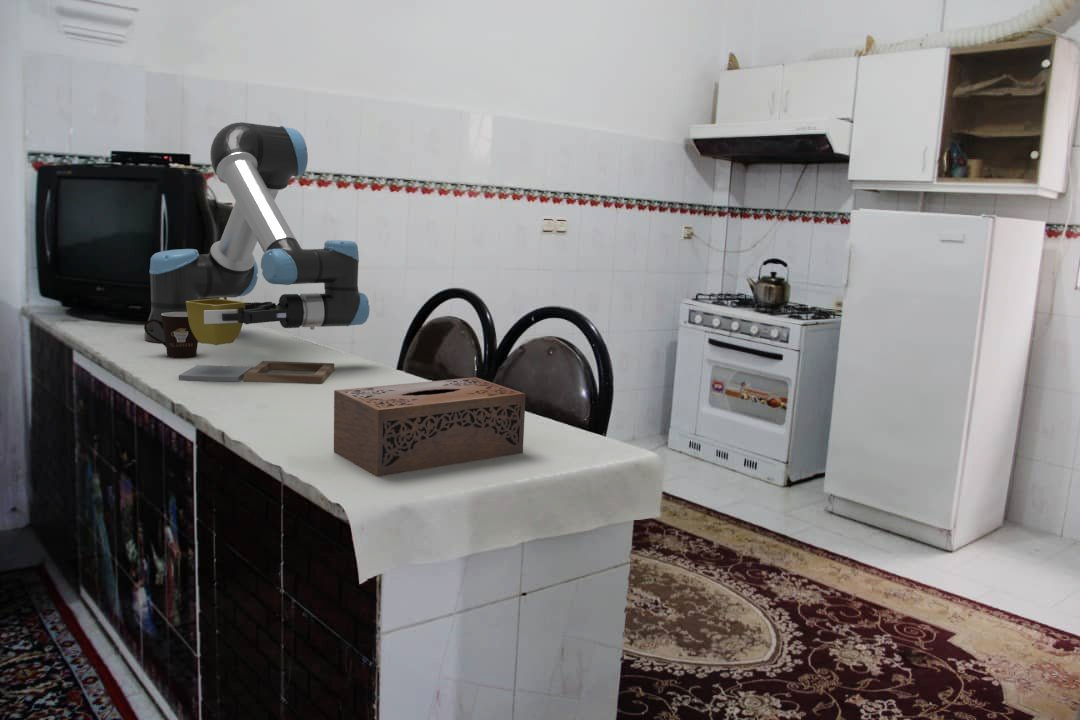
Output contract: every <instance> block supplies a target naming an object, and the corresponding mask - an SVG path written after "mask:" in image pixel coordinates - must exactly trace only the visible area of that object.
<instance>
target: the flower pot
mask: <svg viewBox="0 0 1080 720" xmlns="http://www.w3.org/2000/svg"><path fill="white" fill-rule="evenodd" d="M246 303H247V301H246V302H245V301H239V300H233V299H223V298H204V299H199V300H194V301H186V307H187V314H188V321H189V325H190V328H191V331H192V333H193V334H194V336H195V338H196V339H197V340H198V344H206V345H207V344H208V345H211V346H212V345H213V346H219V345H226V344H227V345H228V344H233V343H234V342H235V341H236V339H237V338H238V337H239V334H240V332H241V330H242V327H243V324H244V323H239V321H238V323H220V324H204V310H237V313H238V307H243V308H244V310H245V304H246Z"/></svg>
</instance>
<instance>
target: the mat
mask: <svg viewBox="0 0 1080 720" xmlns="http://www.w3.org/2000/svg"><path fill="white" fill-rule="evenodd" d="M253 367H254V366H243V365H242V366H241V365H239V366H238V365H208V364H207V365H206V364H196V365H194V366H193V367H191V368H190V369H187V370H186V371H184V372H182V373H180V374H178V381H196V382H197V381H198V382H200V381H201V382H222V383H223V382H224V383H225V382H232V383H238V382H240V381H242V380H244V374H245V373H246V372H248V371H249V370H251V369H252V368H253Z"/></svg>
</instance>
